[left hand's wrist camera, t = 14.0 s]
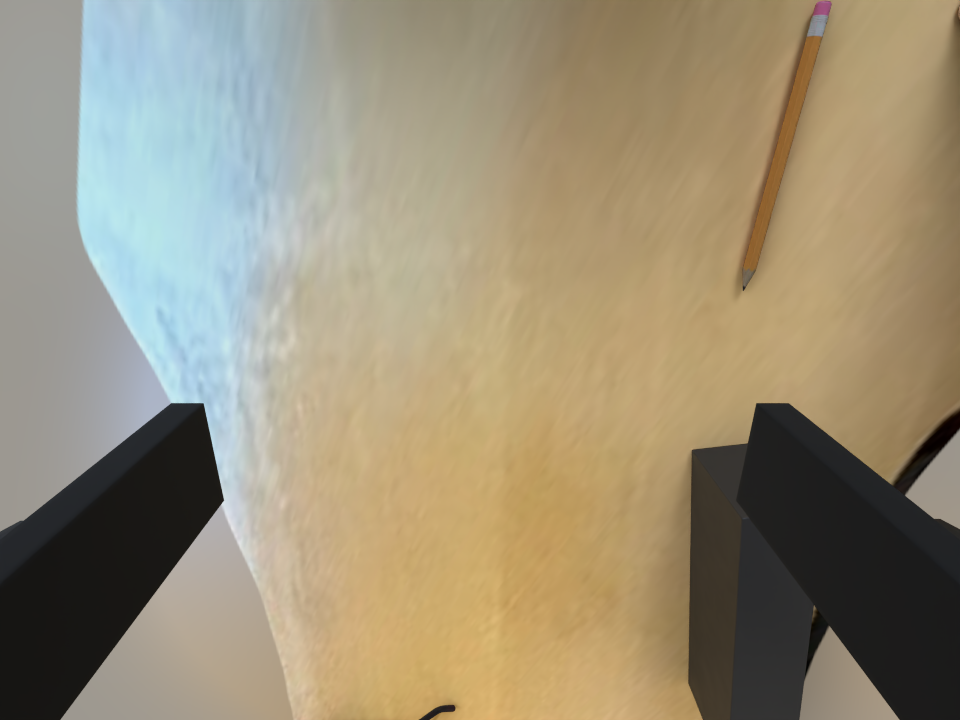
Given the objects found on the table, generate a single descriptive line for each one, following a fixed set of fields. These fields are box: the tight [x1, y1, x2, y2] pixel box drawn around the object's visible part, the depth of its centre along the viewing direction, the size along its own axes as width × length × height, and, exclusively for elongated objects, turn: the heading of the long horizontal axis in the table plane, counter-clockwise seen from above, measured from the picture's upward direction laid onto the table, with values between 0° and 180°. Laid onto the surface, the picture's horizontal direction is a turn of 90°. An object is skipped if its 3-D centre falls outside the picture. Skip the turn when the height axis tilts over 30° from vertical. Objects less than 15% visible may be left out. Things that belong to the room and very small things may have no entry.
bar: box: [688, 444, 814, 720], centre depth 47 cm, size 29×6×10 cm, turn 8°
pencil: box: [743, 1, 831, 291], centre depth 37 cm, size 1×1×19 cm
